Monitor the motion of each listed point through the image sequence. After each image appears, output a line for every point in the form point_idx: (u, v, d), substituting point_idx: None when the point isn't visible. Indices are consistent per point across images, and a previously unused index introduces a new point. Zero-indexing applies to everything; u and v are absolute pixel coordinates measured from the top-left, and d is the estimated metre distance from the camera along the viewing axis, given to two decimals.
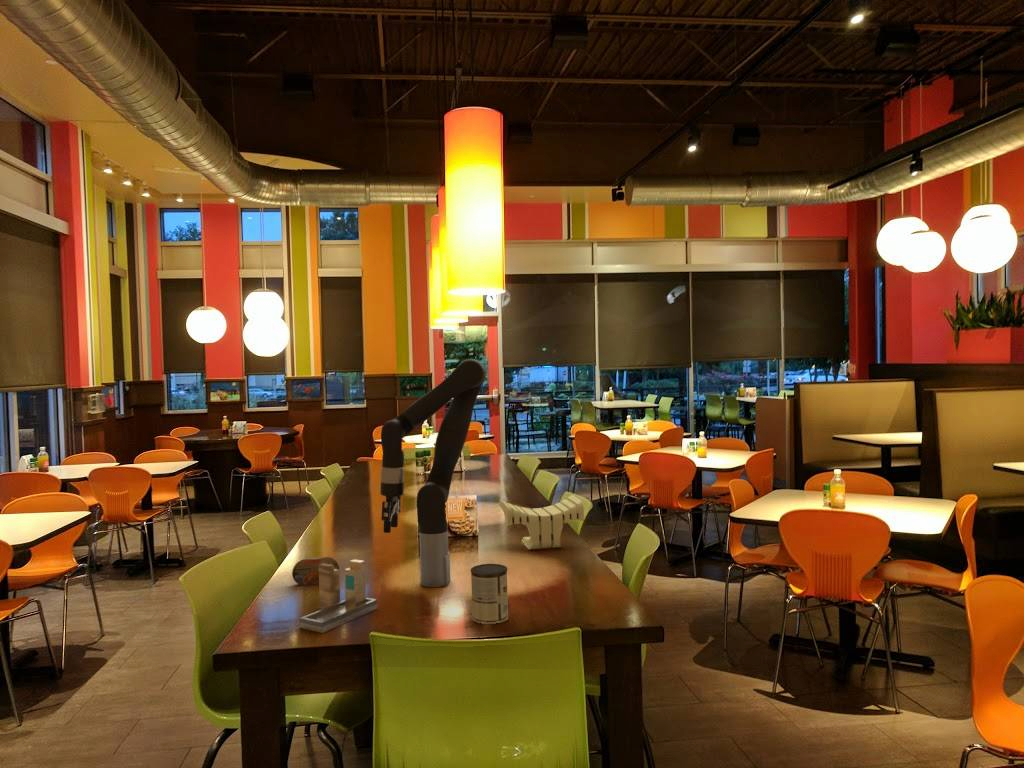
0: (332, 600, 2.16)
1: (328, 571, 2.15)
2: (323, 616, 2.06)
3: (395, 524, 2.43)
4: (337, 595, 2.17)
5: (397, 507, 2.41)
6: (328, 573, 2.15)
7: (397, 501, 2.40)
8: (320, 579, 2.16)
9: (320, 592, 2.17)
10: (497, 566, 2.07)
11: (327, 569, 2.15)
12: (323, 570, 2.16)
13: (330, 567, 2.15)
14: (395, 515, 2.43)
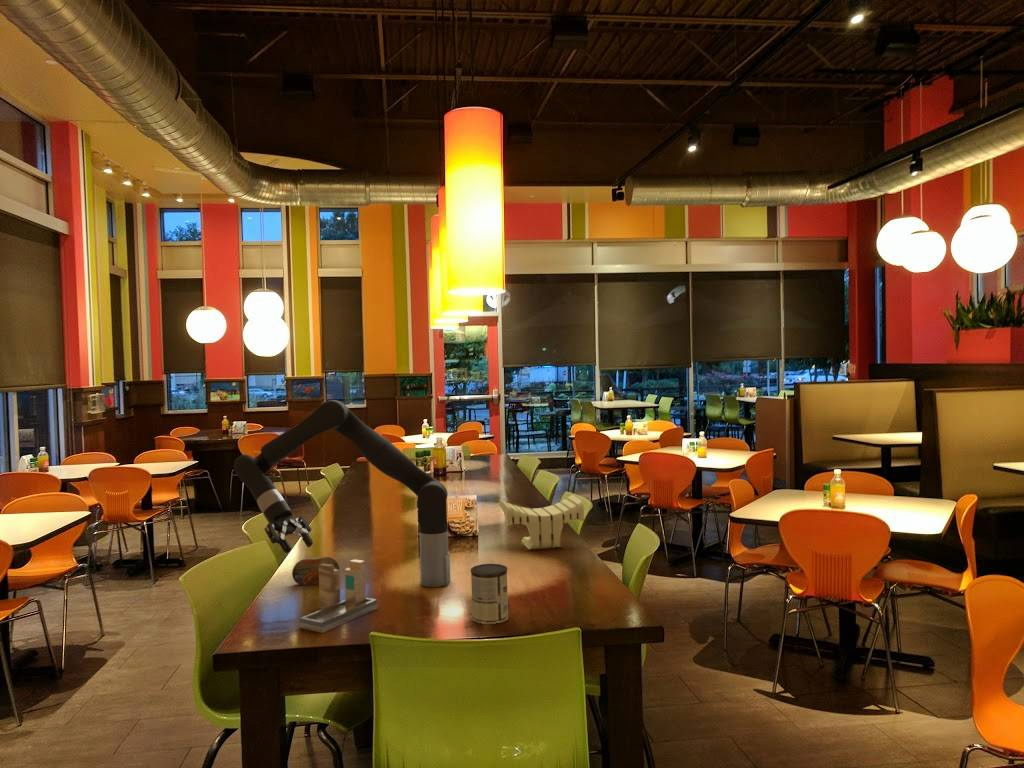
0: (332, 600, 2.16)
1: (328, 571, 2.15)
2: (323, 616, 2.06)
3: (309, 542, 2.27)
4: (337, 595, 2.17)
5: (295, 526, 2.27)
6: (328, 573, 2.15)
7: (289, 520, 2.27)
8: (320, 579, 2.16)
9: (320, 592, 2.17)
10: (497, 566, 2.07)
11: (327, 569, 2.15)
12: (323, 570, 2.16)
13: (330, 567, 2.15)
14: (304, 534, 2.28)
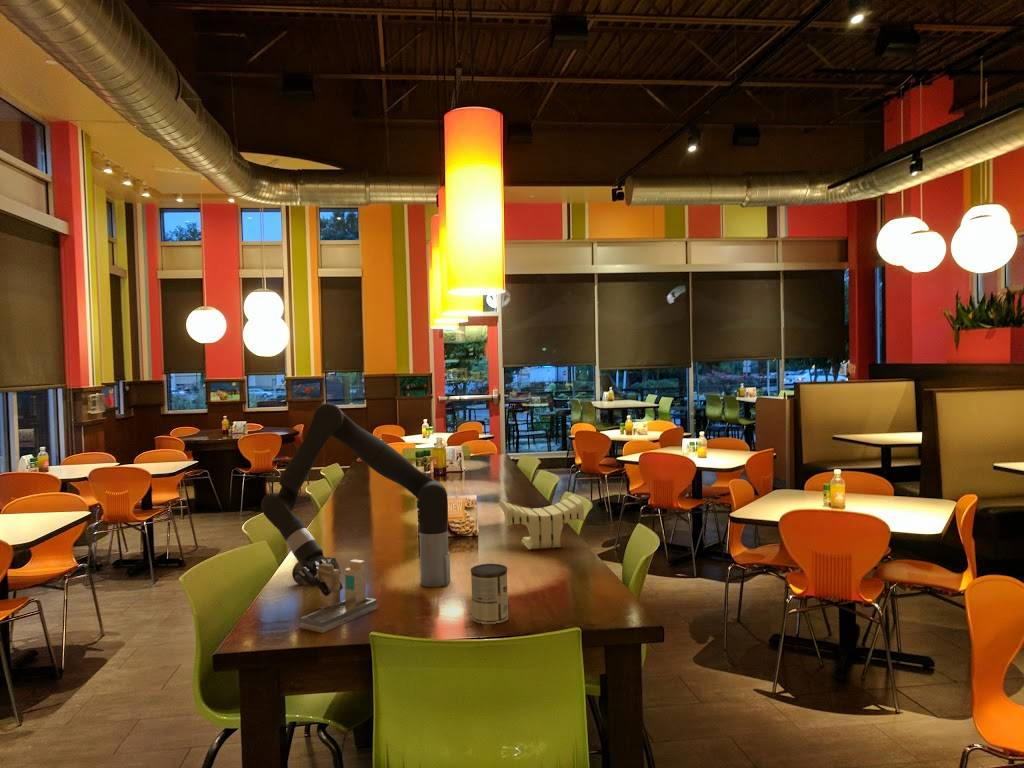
0: (332, 600, 2.16)
1: (328, 571, 2.15)
2: (323, 616, 2.06)
3: None
4: (337, 595, 2.17)
5: None
6: (328, 573, 2.15)
7: (321, 560, 2.20)
8: None
9: (320, 592, 2.17)
10: (497, 566, 2.07)
11: (327, 569, 2.15)
12: (323, 570, 2.16)
13: (330, 567, 2.15)
14: None
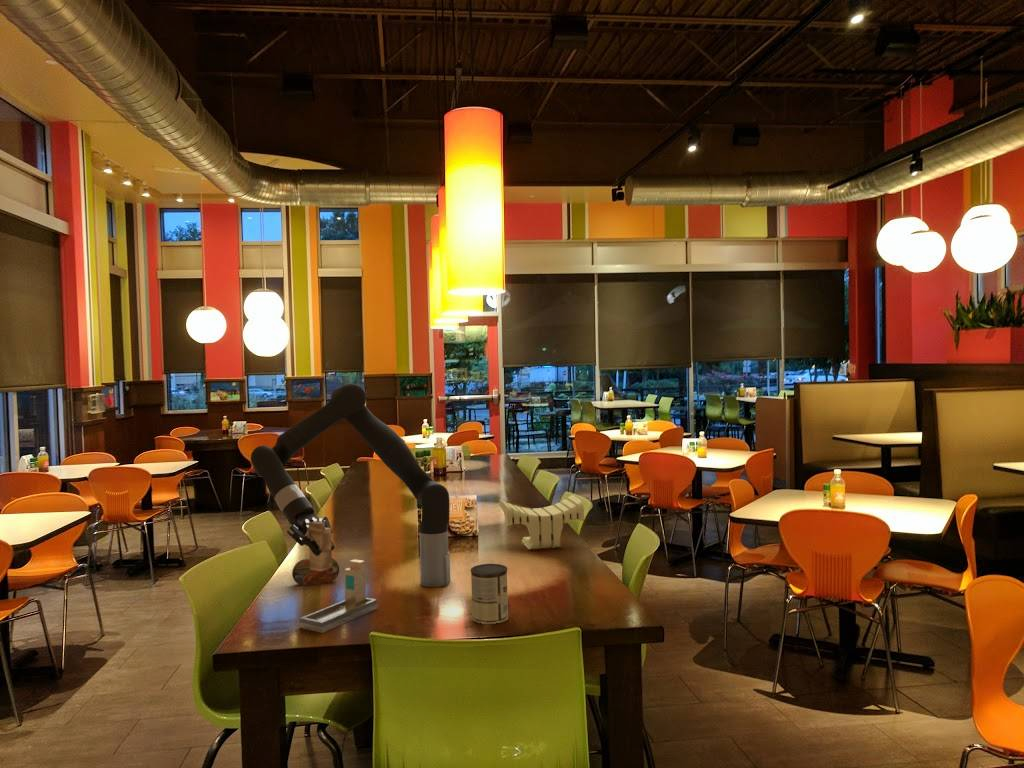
0: (323, 561, 2.00)
1: (319, 529, 1.99)
2: (323, 616, 2.06)
3: None
4: (329, 556, 2.02)
5: None
6: (319, 531, 1.99)
7: (311, 518, 2.05)
8: None
9: (310, 552, 2.01)
10: (497, 566, 2.07)
11: (318, 527, 1.99)
12: (314, 528, 2.00)
13: (321, 525, 2.00)
14: None
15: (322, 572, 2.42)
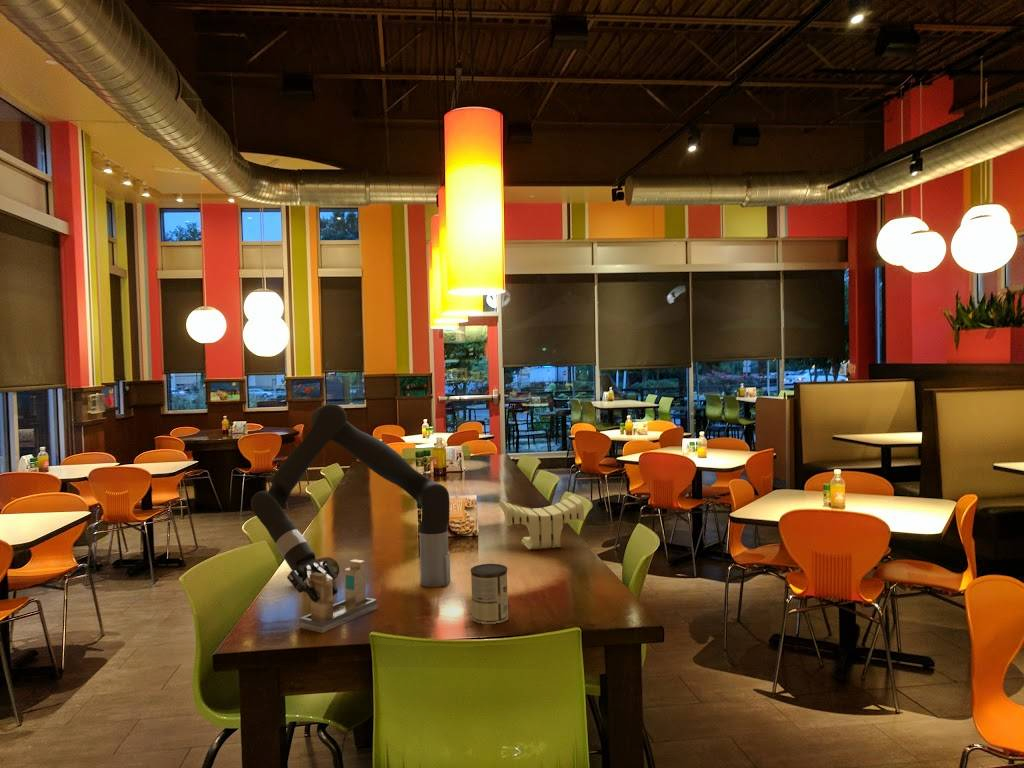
0: (324, 612, 2.01)
1: (320, 581, 2.00)
2: None
3: (333, 590, 2.04)
4: (330, 607, 2.02)
5: (319, 570, 2.05)
6: (320, 583, 2.00)
7: (313, 564, 2.05)
8: None
9: (312, 603, 2.02)
10: (497, 566, 2.07)
11: (319, 579, 2.00)
12: (315, 580, 2.01)
13: (322, 577, 2.00)
14: None
15: None
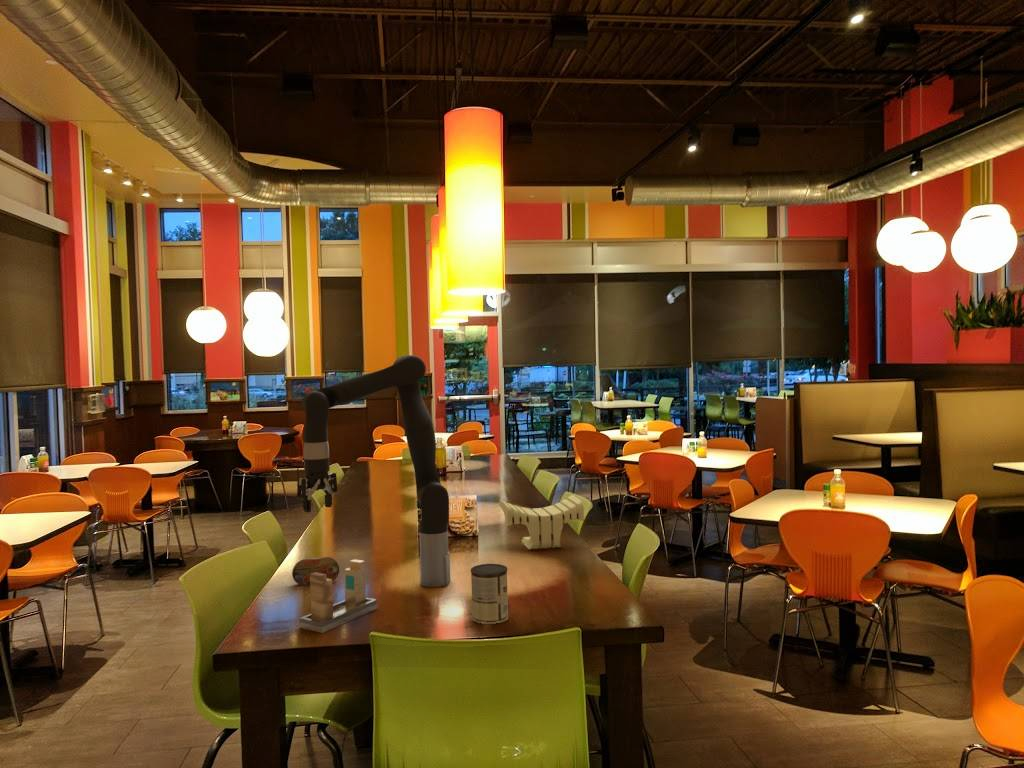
0: (324, 612, 2.01)
1: (320, 581, 2.00)
2: None
3: (328, 504, 2.26)
4: (330, 607, 2.02)
5: (325, 485, 2.24)
6: (320, 583, 2.00)
7: (323, 479, 2.23)
8: (311, 589, 2.01)
9: (312, 603, 2.02)
10: (497, 566, 2.07)
11: (319, 579, 2.00)
12: (315, 580, 2.01)
13: (322, 577, 2.00)
14: (328, 494, 2.26)
15: (322, 572, 2.42)
